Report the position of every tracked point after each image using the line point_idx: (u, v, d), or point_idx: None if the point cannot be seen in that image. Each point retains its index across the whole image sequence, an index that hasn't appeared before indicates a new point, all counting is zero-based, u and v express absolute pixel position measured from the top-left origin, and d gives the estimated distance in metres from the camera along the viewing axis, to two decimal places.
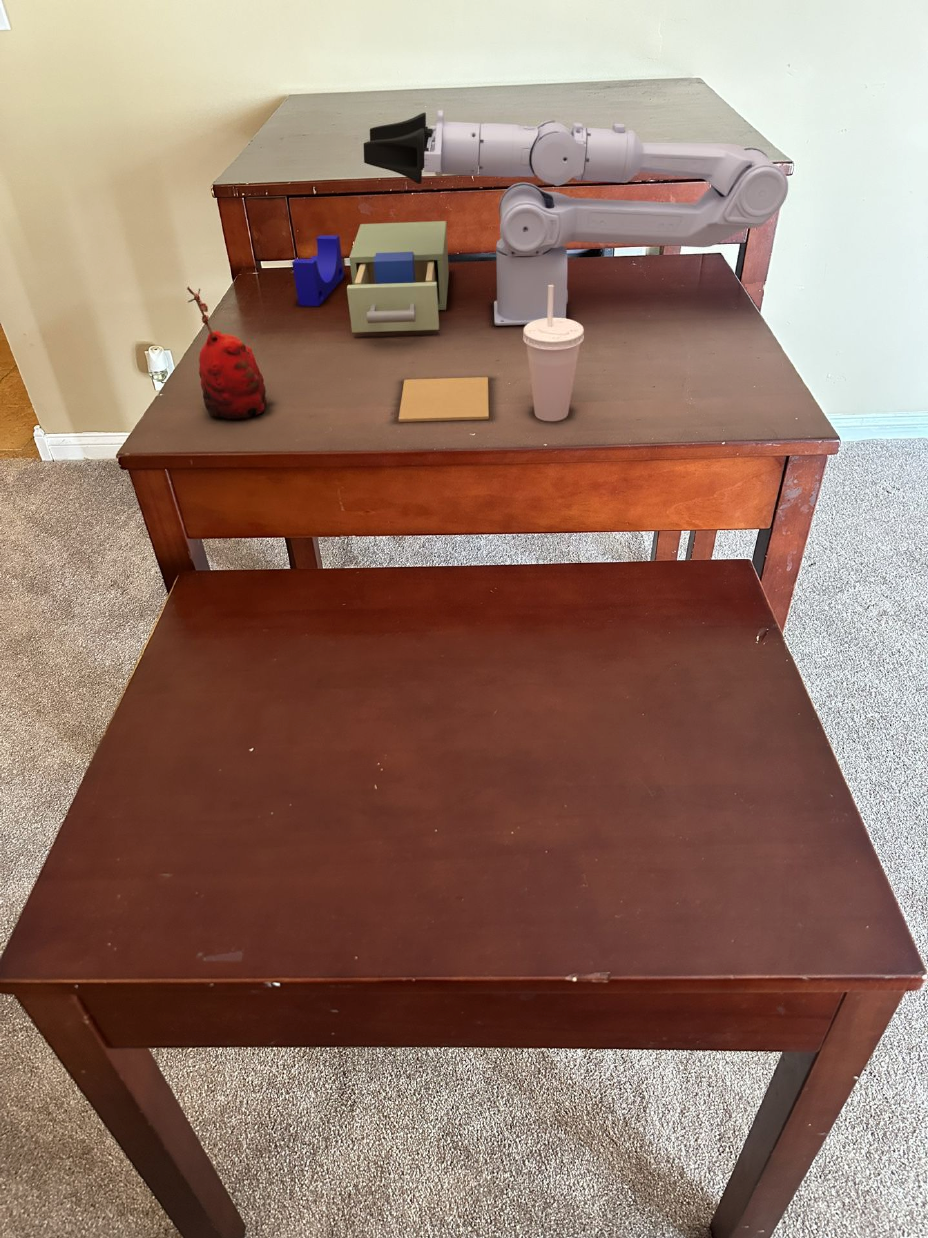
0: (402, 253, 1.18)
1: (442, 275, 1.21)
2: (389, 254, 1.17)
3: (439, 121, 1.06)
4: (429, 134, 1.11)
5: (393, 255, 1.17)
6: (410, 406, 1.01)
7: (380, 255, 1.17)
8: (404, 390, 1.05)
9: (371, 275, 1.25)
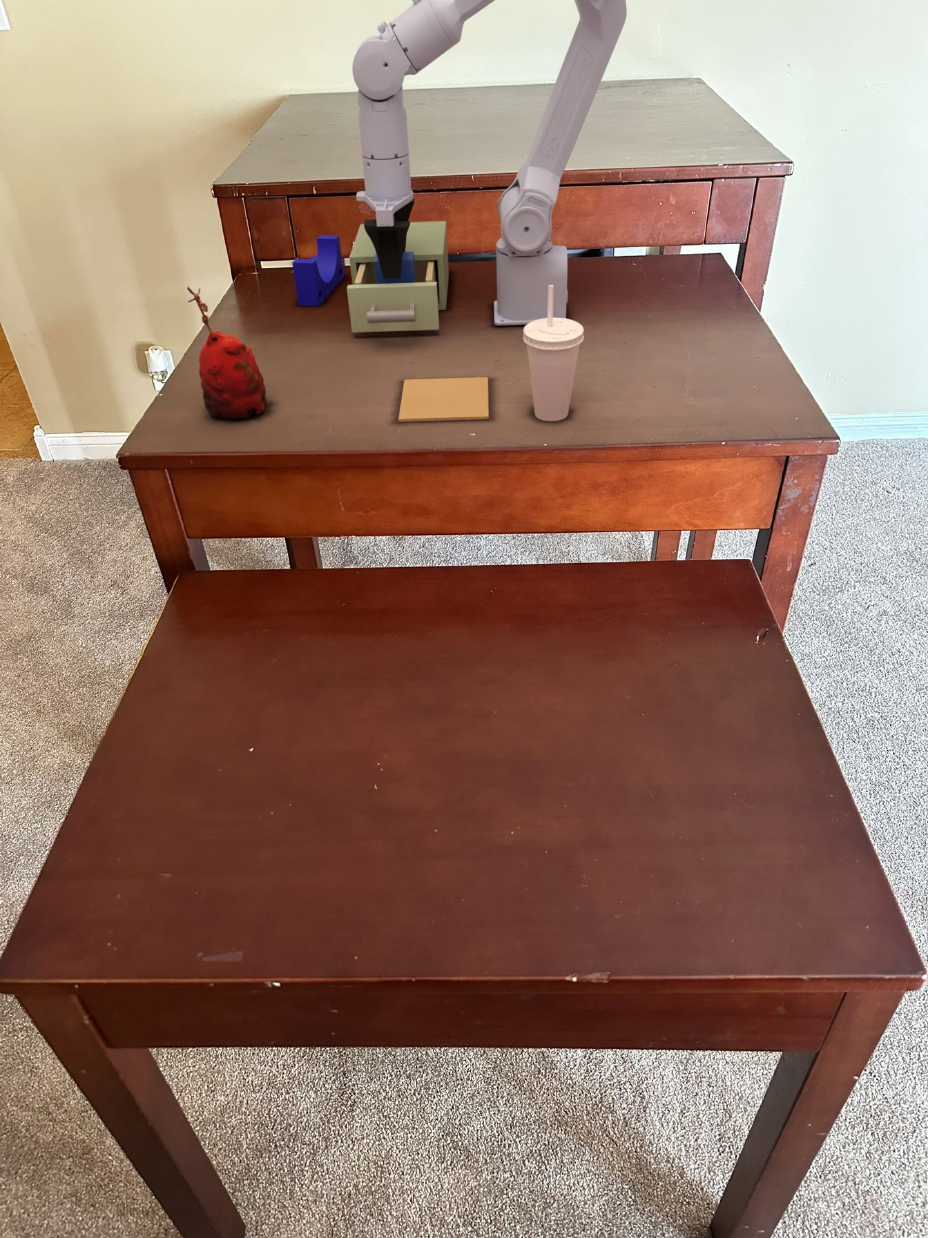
0: None
1: (442, 275, 1.21)
2: None
3: (363, 199, 1.11)
4: None
5: None
6: (410, 406, 1.01)
7: None
8: (404, 390, 1.05)
9: (371, 275, 1.25)
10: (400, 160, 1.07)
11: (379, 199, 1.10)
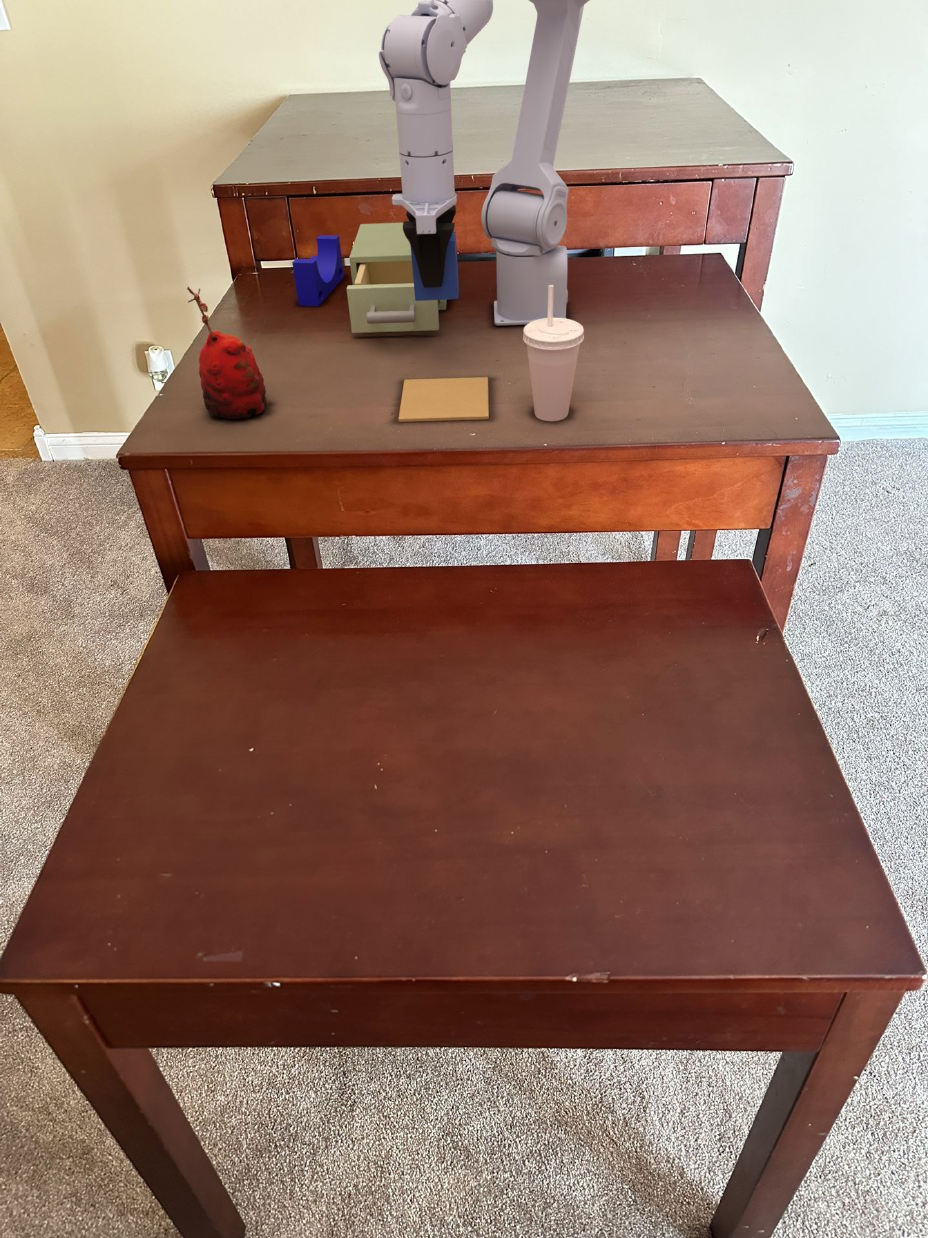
0: None
1: None
2: None
3: (400, 202, 0.97)
4: None
5: None
6: (410, 406, 1.01)
7: None
8: (404, 390, 1.05)
9: (371, 275, 1.25)
10: (443, 158, 0.94)
11: (419, 203, 0.96)
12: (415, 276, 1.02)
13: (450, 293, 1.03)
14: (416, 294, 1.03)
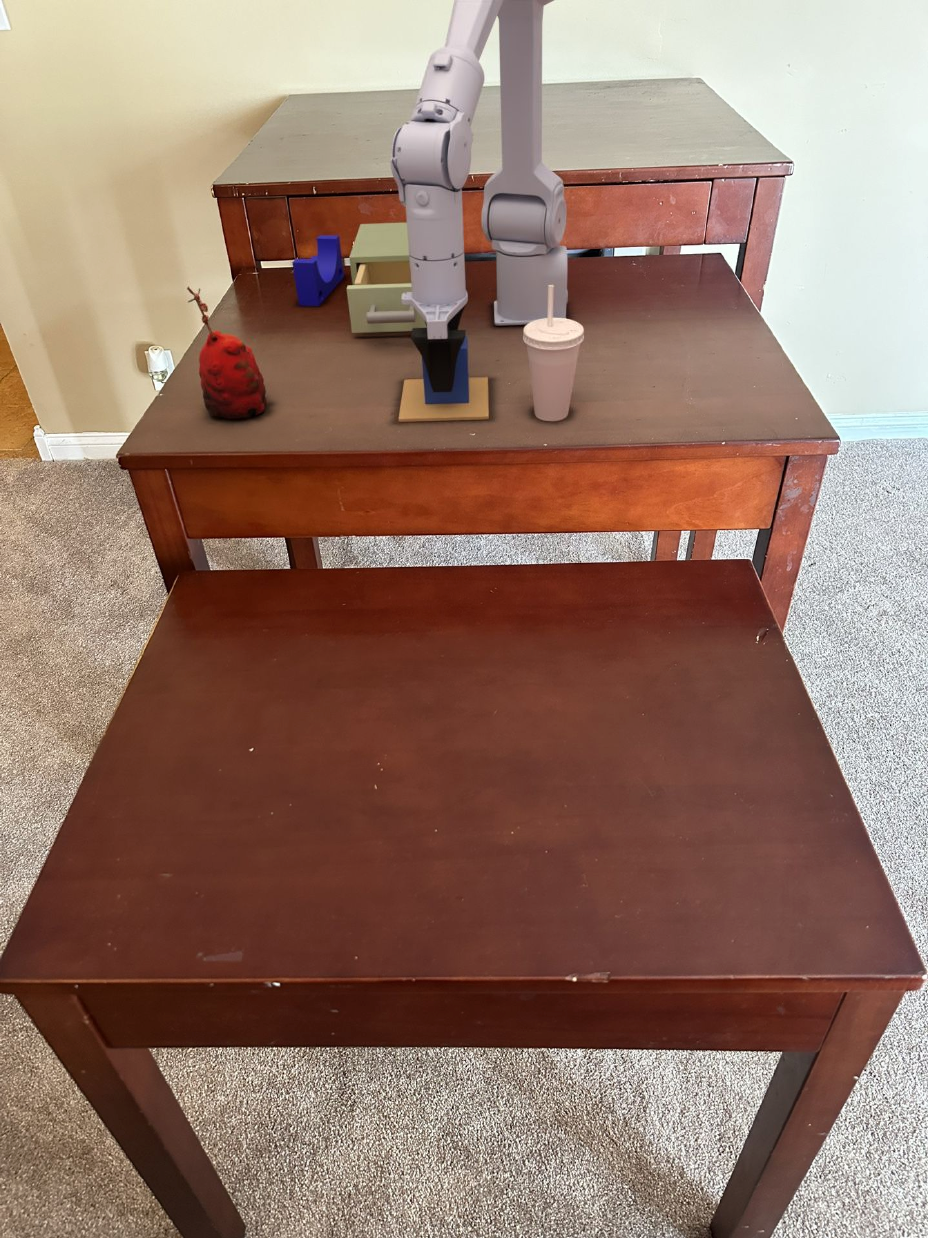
0: None
1: None
2: None
3: (409, 302, 0.95)
4: None
5: None
6: (410, 406, 1.01)
7: None
8: (404, 390, 1.05)
9: (371, 275, 1.25)
10: (455, 261, 0.91)
11: (429, 304, 0.93)
12: (426, 381, 1.00)
13: (460, 397, 1.01)
14: (426, 398, 1.01)
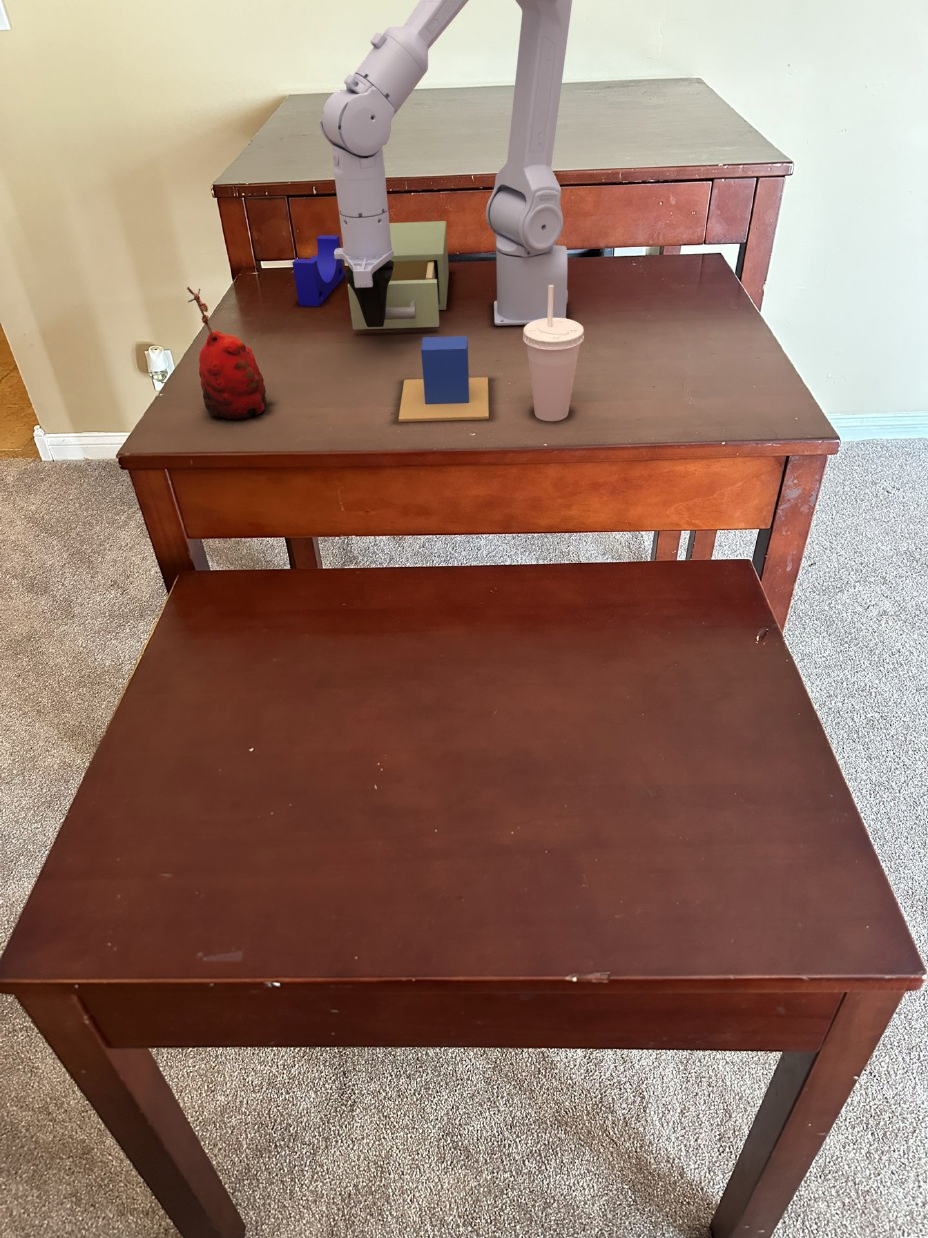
0: (454, 338, 0.99)
1: (442, 275, 1.21)
2: (439, 339, 0.99)
3: (341, 256, 1.06)
4: None
5: (444, 341, 0.99)
6: (410, 406, 1.01)
7: (428, 341, 0.99)
8: (404, 390, 1.05)
9: None
10: (379, 217, 1.02)
11: (357, 257, 1.04)
12: (426, 381, 1.00)
13: (460, 397, 1.01)
14: (426, 398, 1.01)
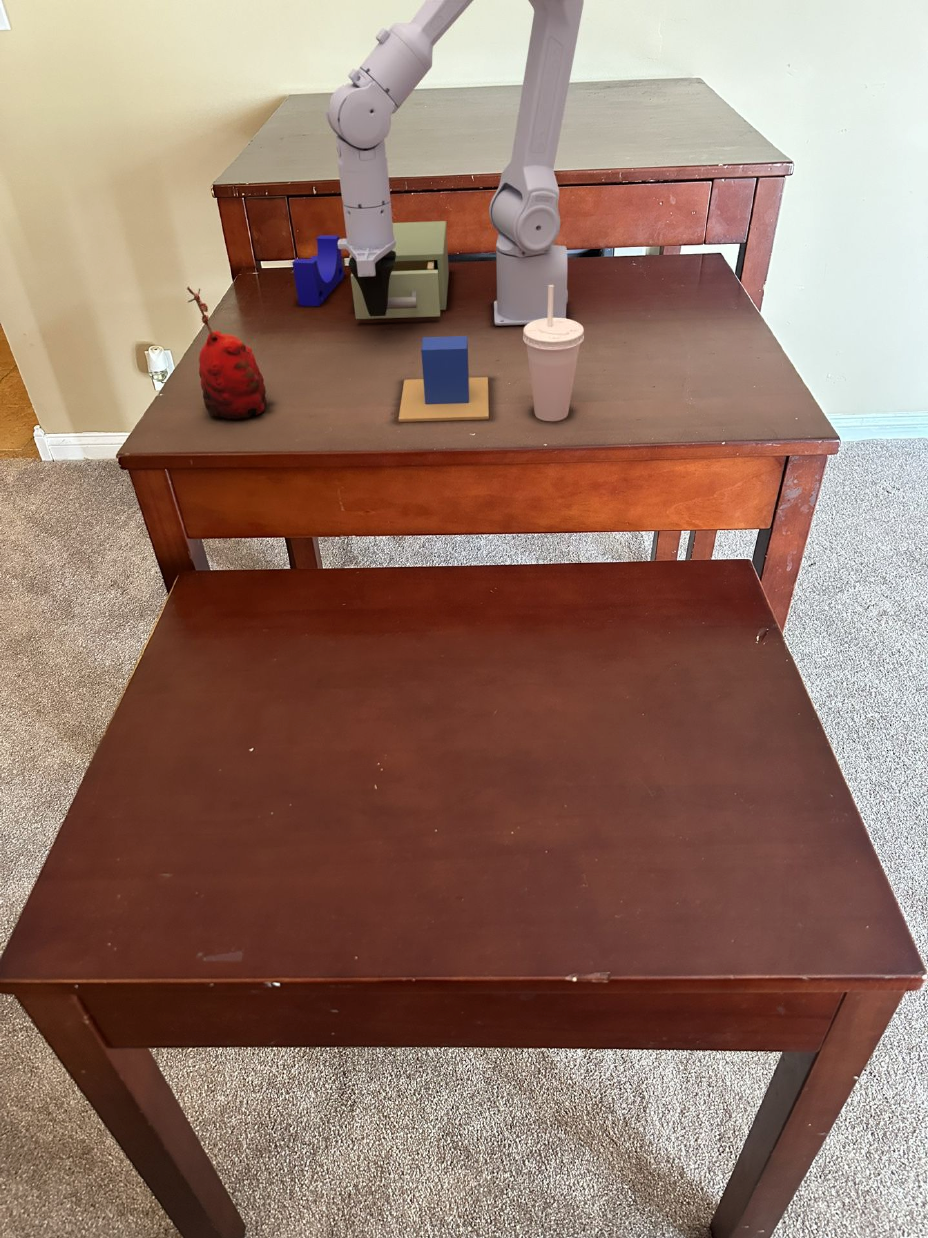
0: (454, 338, 0.99)
1: (442, 275, 1.21)
2: (439, 339, 0.99)
3: (344, 247, 1.09)
4: None
5: (444, 341, 0.99)
6: (410, 406, 1.01)
7: (428, 341, 0.99)
8: (404, 390, 1.05)
9: None
10: (381, 208, 1.05)
11: (361, 248, 1.07)
12: (426, 381, 1.00)
13: (460, 397, 1.01)
14: (426, 398, 1.01)
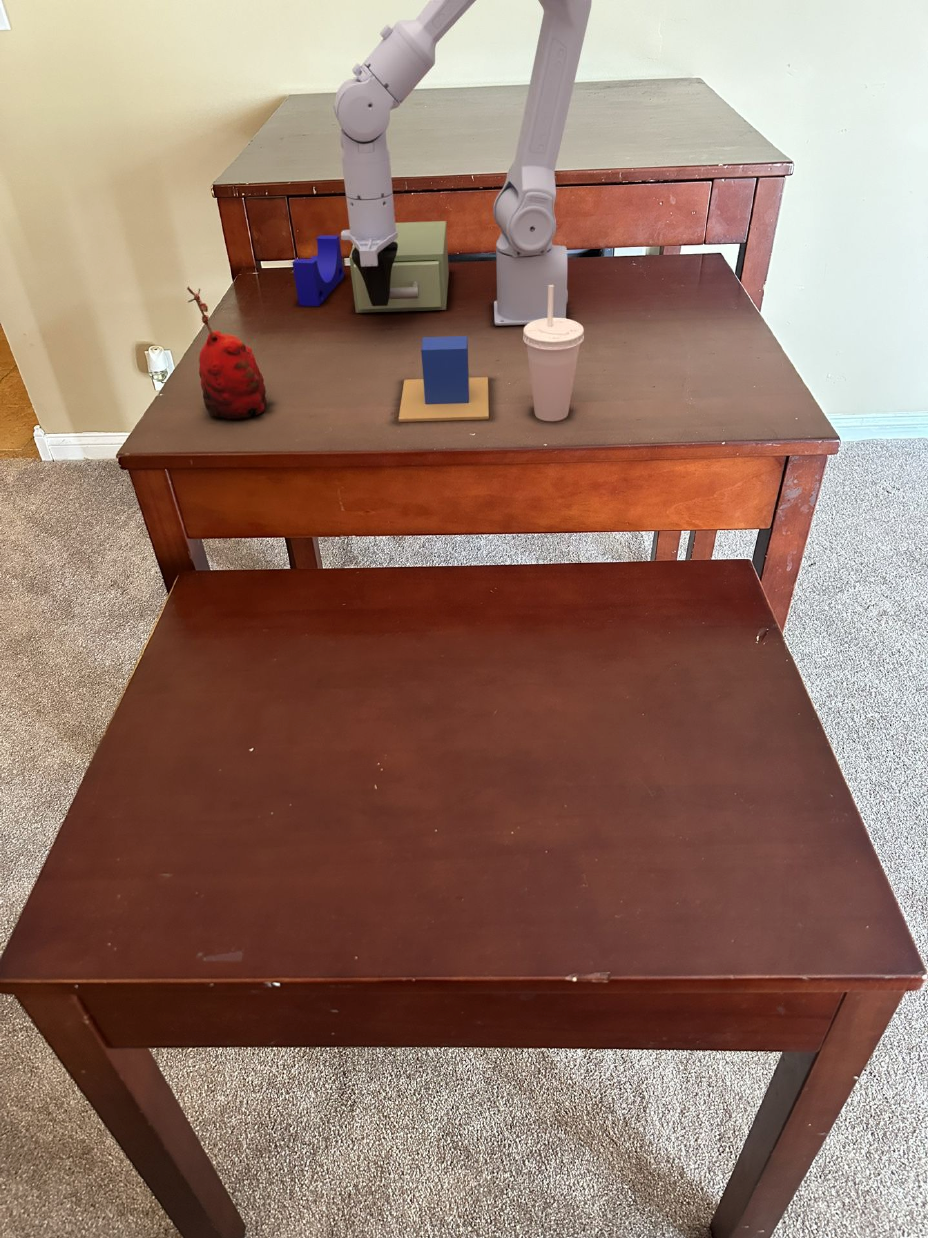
0: (454, 338, 0.99)
1: (442, 275, 1.21)
2: (439, 339, 0.99)
3: (348, 238, 1.11)
4: None
5: (444, 341, 0.99)
6: (410, 406, 1.01)
7: (428, 341, 0.99)
8: (404, 390, 1.05)
9: None
10: (384, 200, 1.08)
11: (363, 238, 1.10)
12: (426, 381, 1.00)
13: (460, 397, 1.01)
14: (426, 398, 1.01)
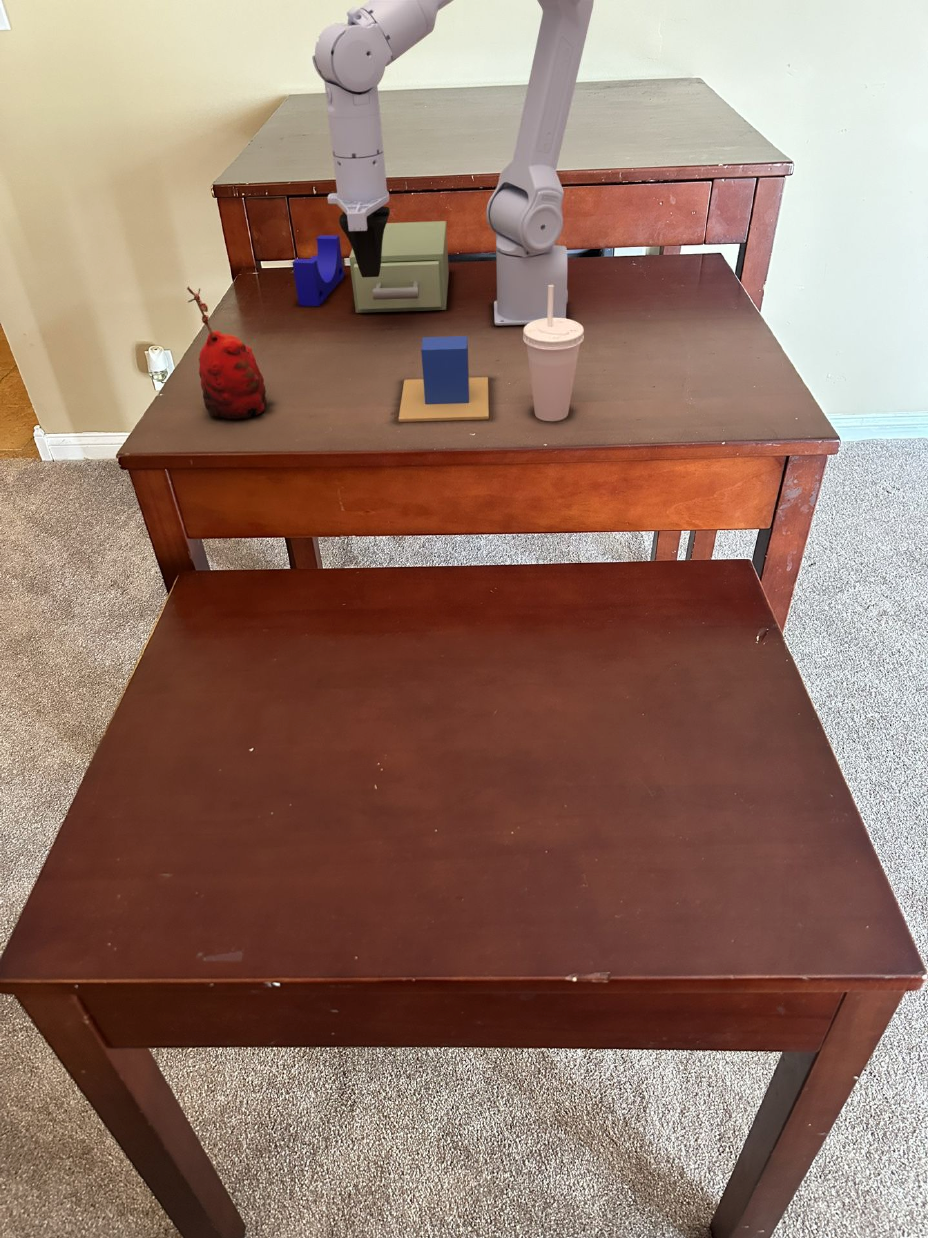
0: (454, 338, 0.99)
1: (442, 275, 1.21)
2: (439, 339, 0.99)
3: (335, 201, 1.03)
4: None
5: (444, 341, 0.99)
6: (410, 406, 1.01)
7: (428, 341, 0.99)
8: (404, 390, 1.05)
9: None
10: (373, 159, 0.99)
11: (352, 201, 1.01)
12: (426, 381, 1.00)
13: (460, 397, 1.01)
14: (426, 398, 1.01)
